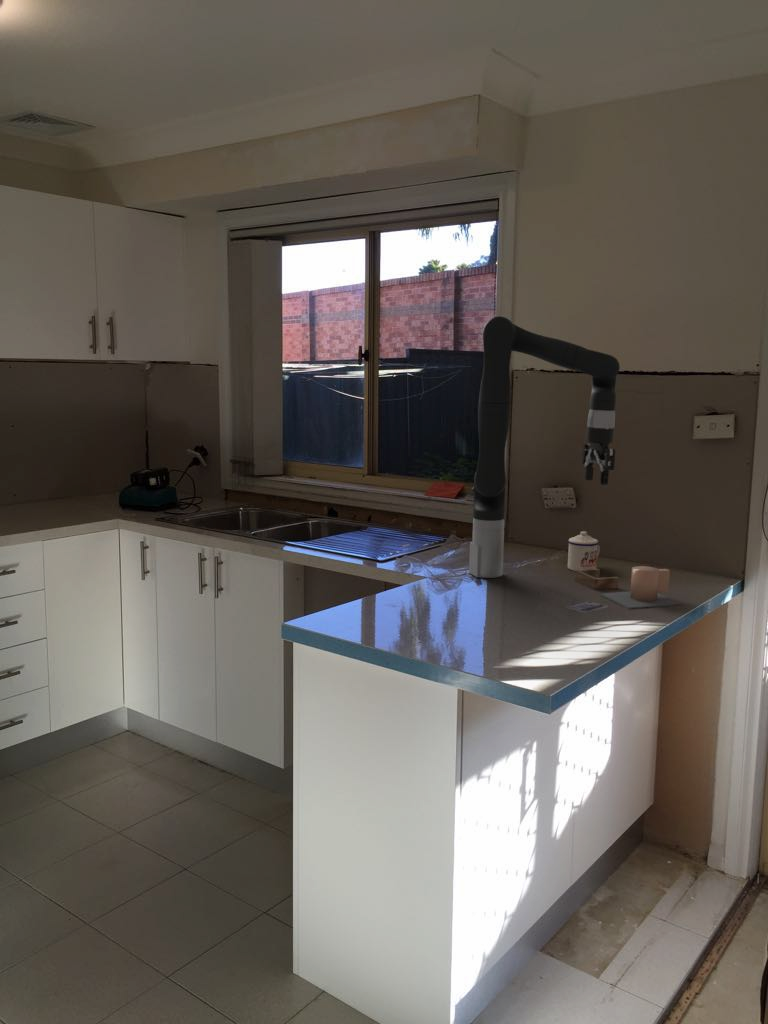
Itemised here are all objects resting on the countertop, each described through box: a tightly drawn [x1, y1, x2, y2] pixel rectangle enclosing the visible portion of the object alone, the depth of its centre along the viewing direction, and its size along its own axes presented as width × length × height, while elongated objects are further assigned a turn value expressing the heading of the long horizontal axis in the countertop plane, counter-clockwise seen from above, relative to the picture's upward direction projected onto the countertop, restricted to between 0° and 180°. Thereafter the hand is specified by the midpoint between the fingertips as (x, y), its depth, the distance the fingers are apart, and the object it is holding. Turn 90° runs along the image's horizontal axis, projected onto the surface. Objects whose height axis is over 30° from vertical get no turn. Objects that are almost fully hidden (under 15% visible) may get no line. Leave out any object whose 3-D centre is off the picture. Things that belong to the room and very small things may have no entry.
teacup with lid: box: [567, 531, 601, 572], centre depth 266 cm, size 12×9×12 cm
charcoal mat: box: [599, 590, 682, 610], centre depth 232 cm, size 16×14×1 cm
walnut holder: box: [574, 568, 619, 590], centre depth 248 cm, size 8×11×3 cm
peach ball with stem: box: [630, 565, 671, 601], centre depth 232 cm, size 10×7×8 cm, turn 106°
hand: (596, 482), depth 248 cm, fingers open, 8 cm apart
